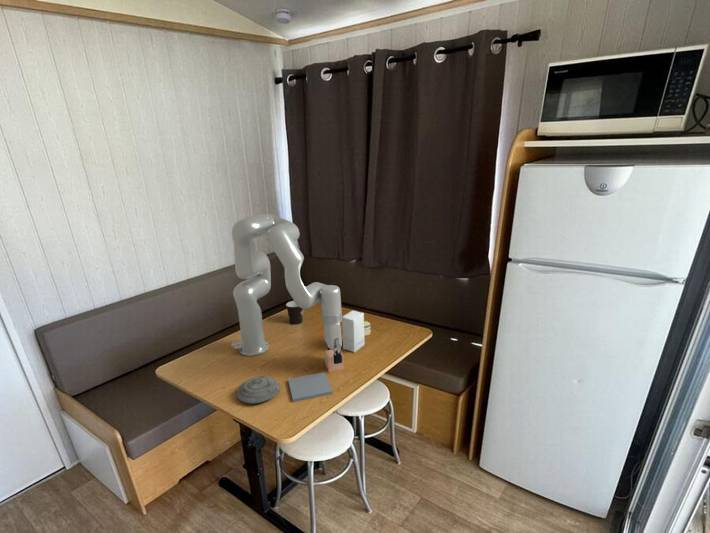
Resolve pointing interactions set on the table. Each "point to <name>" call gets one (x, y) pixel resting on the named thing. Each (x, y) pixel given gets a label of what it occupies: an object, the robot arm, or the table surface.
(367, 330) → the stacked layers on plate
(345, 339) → the skincare box
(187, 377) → the table surface
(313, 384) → the slate mat
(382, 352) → the table surface
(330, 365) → the terracotta cube
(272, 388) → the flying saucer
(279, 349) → the table surface
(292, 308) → the coffee mug
